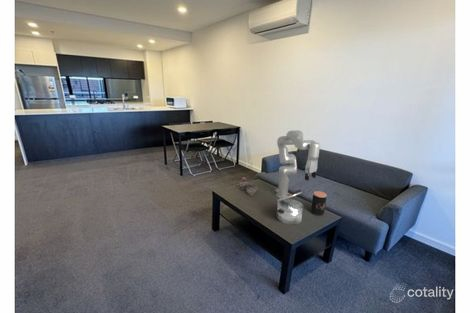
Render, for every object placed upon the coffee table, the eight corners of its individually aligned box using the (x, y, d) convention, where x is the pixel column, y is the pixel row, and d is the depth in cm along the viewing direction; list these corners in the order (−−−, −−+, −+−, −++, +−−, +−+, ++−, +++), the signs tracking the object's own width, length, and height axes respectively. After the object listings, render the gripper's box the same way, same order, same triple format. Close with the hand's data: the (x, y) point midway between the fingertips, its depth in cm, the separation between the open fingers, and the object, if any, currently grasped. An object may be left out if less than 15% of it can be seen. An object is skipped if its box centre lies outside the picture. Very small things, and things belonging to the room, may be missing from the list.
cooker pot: (268, 216, 183) (269, 203, 180) (288, 208, 198) (290, 195, 195) (288, 229, 167) (290, 214, 164) (308, 218, 183) (310, 205, 179)
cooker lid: (272, 203, 181) (270, 199, 181) (288, 196, 193) (287, 193, 194) (290, 197, 164) (289, 193, 165) (307, 190, 177) (305, 187, 177)
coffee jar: (314, 216, 186) (317, 197, 181) (308, 210, 196) (311, 191, 191) (326, 215, 188) (329, 196, 183) (319, 209, 198) (322, 190, 193)
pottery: (245, 186, 243) (245, 175, 239) (259, 195, 222) (259, 184, 219) (236, 187, 237) (236, 177, 234) (249, 197, 216) (250, 186, 213)
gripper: (314, 155, 181) (311, 175, 186) (302, 158, 170) (299, 179, 175) (323, 157, 175) (320, 177, 180) (311, 161, 164) (308, 182, 169)
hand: (310, 178), depth 177 cm, fingers open, 9 cm apart
